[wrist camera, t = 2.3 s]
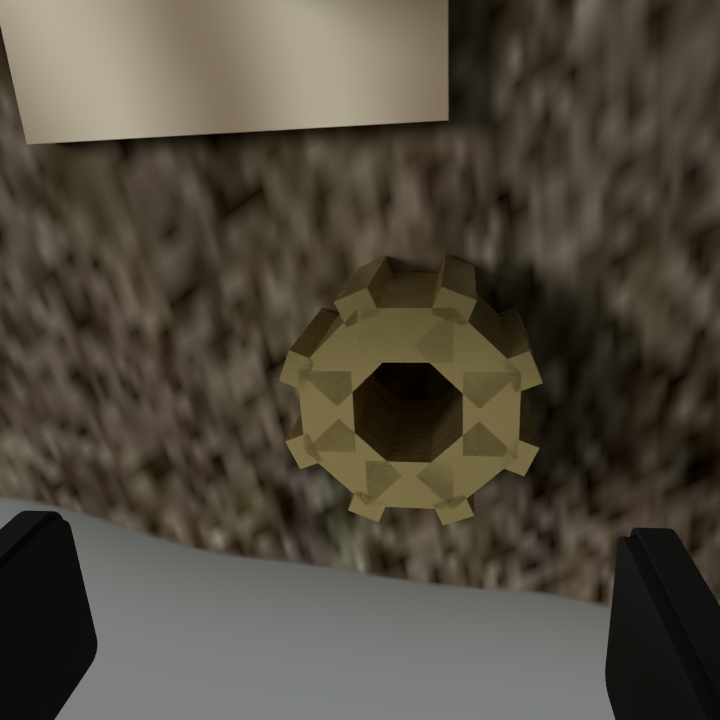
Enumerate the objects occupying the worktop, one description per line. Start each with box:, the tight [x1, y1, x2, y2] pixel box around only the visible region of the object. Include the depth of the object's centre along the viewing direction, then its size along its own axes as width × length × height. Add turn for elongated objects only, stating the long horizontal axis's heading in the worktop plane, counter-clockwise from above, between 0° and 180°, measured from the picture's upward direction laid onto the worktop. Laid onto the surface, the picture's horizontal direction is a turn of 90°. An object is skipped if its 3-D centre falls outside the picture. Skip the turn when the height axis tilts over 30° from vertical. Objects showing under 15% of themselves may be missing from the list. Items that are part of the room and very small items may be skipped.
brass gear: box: [279, 255, 543, 525], centre depth 18 cm, size 7×7×4 cm
